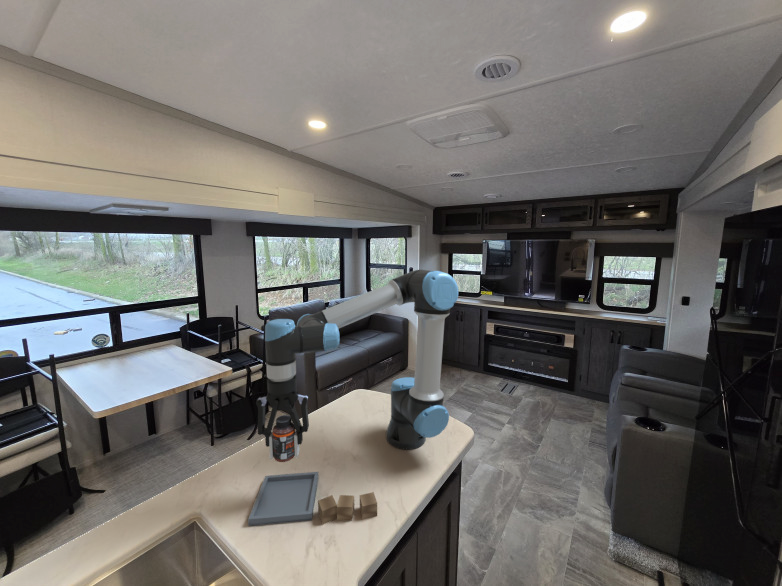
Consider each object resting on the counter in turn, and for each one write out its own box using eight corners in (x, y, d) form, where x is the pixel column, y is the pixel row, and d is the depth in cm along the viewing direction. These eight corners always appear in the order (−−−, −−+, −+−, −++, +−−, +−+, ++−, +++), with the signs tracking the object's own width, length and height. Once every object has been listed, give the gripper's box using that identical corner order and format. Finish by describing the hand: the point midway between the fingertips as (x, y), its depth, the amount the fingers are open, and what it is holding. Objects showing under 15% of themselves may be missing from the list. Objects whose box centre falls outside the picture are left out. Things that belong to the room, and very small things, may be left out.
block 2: (354, 508, 86) (354, 495, 86) (351, 521, 82) (351, 507, 82) (340, 508, 86) (339, 495, 86) (336, 520, 82) (336, 506, 82)
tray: (318, 477, 98) (318, 471, 98) (311, 520, 82) (311, 513, 82) (265, 481, 96) (265, 475, 96) (248, 526, 80) (248, 519, 80)
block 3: (373, 505, 88) (373, 492, 87) (377, 516, 84) (377, 503, 83) (359, 508, 86) (359, 495, 86) (362, 520, 83) (362, 506, 82)
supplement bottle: (289, 464, 84) (287, 425, 83) (269, 461, 85) (267, 423, 84) (299, 451, 90) (298, 414, 88) (281, 448, 91) (279, 412, 90)
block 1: (332, 508, 86) (332, 494, 86) (337, 518, 83) (337, 505, 83) (318, 513, 85) (317, 500, 84) (322, 525, 81) (322, 511, 81)
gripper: (318, 369, 89) (320, 444, 92) (249, 372, 87) (254, 449, 90) (315, 380, 82) (317, 461, 85) (240, 383, 80) (245, 466, 83)
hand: (285, 455), depth 87 cm, fingers closed on supplement bottle, 6 cm apart
